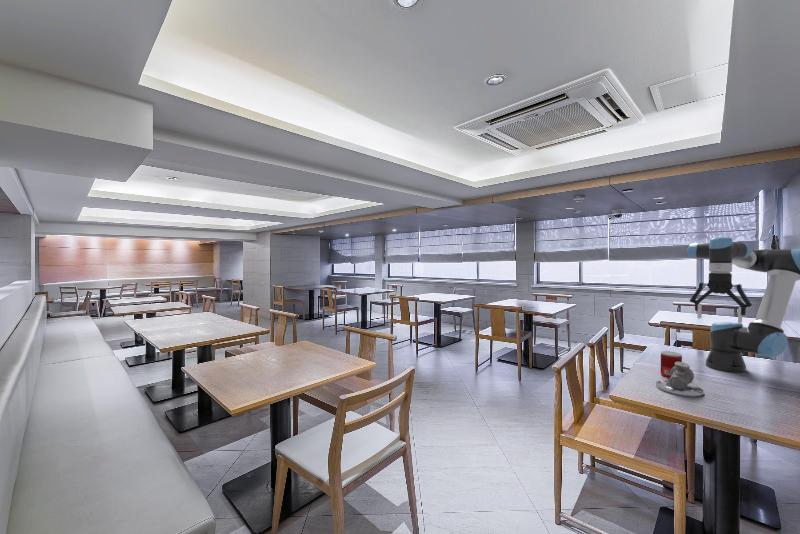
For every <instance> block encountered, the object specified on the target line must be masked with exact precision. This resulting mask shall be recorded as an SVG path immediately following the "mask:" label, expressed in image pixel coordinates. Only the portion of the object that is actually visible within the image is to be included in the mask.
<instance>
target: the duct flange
mask: <svg viewBox="0 0 800 534" xmlns="http://www.w3.org/2000/svg"><path fill="white" fill-rule="evenodd" d="M669 380H670V379H662V380H656V382H655V387H656V388H657V389H658V390H660V391H662V392H665V393H667V394H670V395H676V396H679V397H680V396H681V397H688V398H699V397H703V396H704V390H703V388H701V387H699V386H697V385H695V384H692V383H689V384H688V385H687V387H686V388H685V389H683V390H677V389H675V388H673V387H672V386H671V385H670V383H669Z"/></svg>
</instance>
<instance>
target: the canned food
mask: <svg viewBox="0 0 800 534" xmlns="http://www.w3.org/2000/svg"><path fill="white" fill-rule="evenodd" d="M675 362H683V354H681V353H680V352H676V351H670V350H669V351H667V350H663V351H661V353H660V374H661V376H662V377H664V378H667V379H670V378H671V375H670V371H671V369H672V368H673V367H674V366H675Z"/></svg>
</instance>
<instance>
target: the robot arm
mask: <svg viewBox="0 0 800 534" xmlns="http://www.w3.org/2000/svg"><path fill="white" fill-rule="evenodd" d="M733 240H734V239H733V238H732V237H712V238H710V240H709V242H696V243H691V244H689V245H688V247H687V249H686V253H687V257H689V258H691V259H696V260H698V259H703V260H709V263H708V272H709V273H708V282H707V283H706V282H699V284H698V287H697V289H696V290H695V292H694V294H693V295H692V296H691V298H690V299H689V302H690V303H693V304H694V311H695V312H697V319H700V320H701V319H702V313H703V312H702V311H703V309H702V307H703V306H702V303H701V302H702V301H703V300H705V299H706V298H707V297H709V296H710V295H712V293H713V294H721V295H725V294H726V295H727V296H729V297H730V298H731V299H732V300H733V301H734V302H735V303H736V304H737V305H738V306H739V307H737V308H738V311H737V322H731V321H725V322H723V321H721V322H719V321H718V322H714V323H712V324H711V327H710V350H709V353H708V354H707V357H706V359H705V365H706V367H708V368H711V369H714V370H718V371H723V372H728V373H729V372H732V373H745V372H746V371H747V364H746V362H745V360H744V357H743V355H742V353H743V352H746V353H751V354H755V355H756V354H757V355H760V356H762V357H763V356H764V357H771V358H775V357H778V356H780V355H782V354H784V352H785V351H786V349H787V347H788V340H789V339H788V336H787V335H786V334H785V331H784V329H783V328H782V324H783V321H784V317H785V315H786V312H787V309H788V306H789V302H790V299H791V297H792V293H793V290H794V287H795V284H796V282H798V281H800V248H798V249H797V248H792V249H791V248H785V249H782V248H781V249H779V248H777V249H776V248H775V249H769V248H768V249H753V248H752V247H751V245H750V244H749V243H748V242H745V241H744V242H743V241H733ZM733 265H735V267H737V268H741V269H745V270H751V271H754V272H759V273H766V274H767V275H768V276H769V279H768V282H767V284H766V287H765V291H764V293H763V296H762V299H761V302H760V305H759V308H758V311H757V313H756V317H755V319H754V320H753V321H751V322H749V323H748V326H747V327H745V326H744V324H743V316H746V313H747V308H750V307H752V306H753V305H752V303H751V300H750V299H749V298H748V296H747V295H746V292H744V289H743V287H742V284H741V283H739V284H733V283H732V280H733V278H732V277H733V275H732V274H733V273H732V272H733ZM706 287H707V288H708V290H707V291H706V292H705V293H703V295H701V296H699V295H700V294H701V293H702V291H703V289H704V288H706ZM733 288H734V290H736V292H738V294H739V296H740V298H741V299H742V301H741V299H740V298H739V297H738V296H736V294H735V293H734V292H733V291H732V289H733ZM698 297H699V298H698Z"/></svg>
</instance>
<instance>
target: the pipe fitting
mask: <svg viewBox="0 0 800 534" xmlns="http://www.w3.org/2000/svg"><path fill="white" fill-rule="evenodd" d="M670 375H671V378H669V379H668V380H669V383H670V385H671V386H672V387H673V388H675V389H677V390H683V389H685V388H686V387H687V385H688V384H692V383H693V381H694V378H695V374H694V371H693V370H692V369H691V368H690V364H688V363H686V362H683V361H682V362H675V366H674V367H673V368H672V369H671V371H670Z"/></svg>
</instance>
